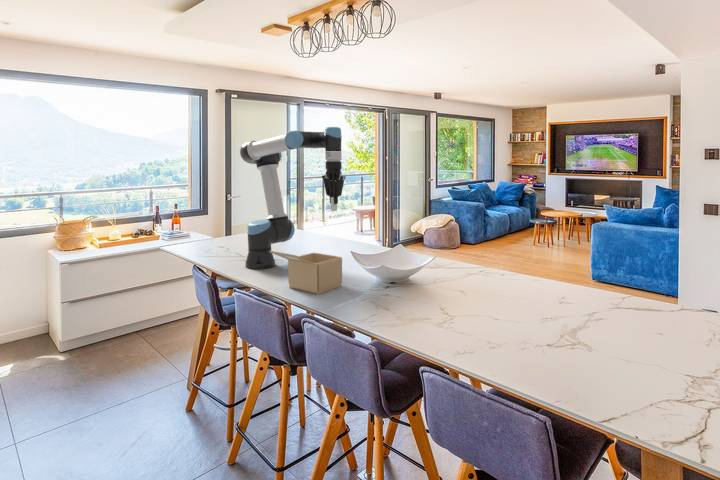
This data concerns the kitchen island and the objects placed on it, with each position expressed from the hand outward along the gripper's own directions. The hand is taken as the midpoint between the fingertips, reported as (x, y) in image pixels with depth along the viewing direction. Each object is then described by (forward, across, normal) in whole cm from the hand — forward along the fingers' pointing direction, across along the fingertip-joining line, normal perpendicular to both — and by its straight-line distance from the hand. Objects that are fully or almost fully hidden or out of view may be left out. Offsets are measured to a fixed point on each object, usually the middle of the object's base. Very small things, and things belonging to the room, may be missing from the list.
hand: (333, 210), depth 227 cm
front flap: (+17, +10, -34) cm, 39 cm away
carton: (+30, +10, -25) cm, 41 cm away
